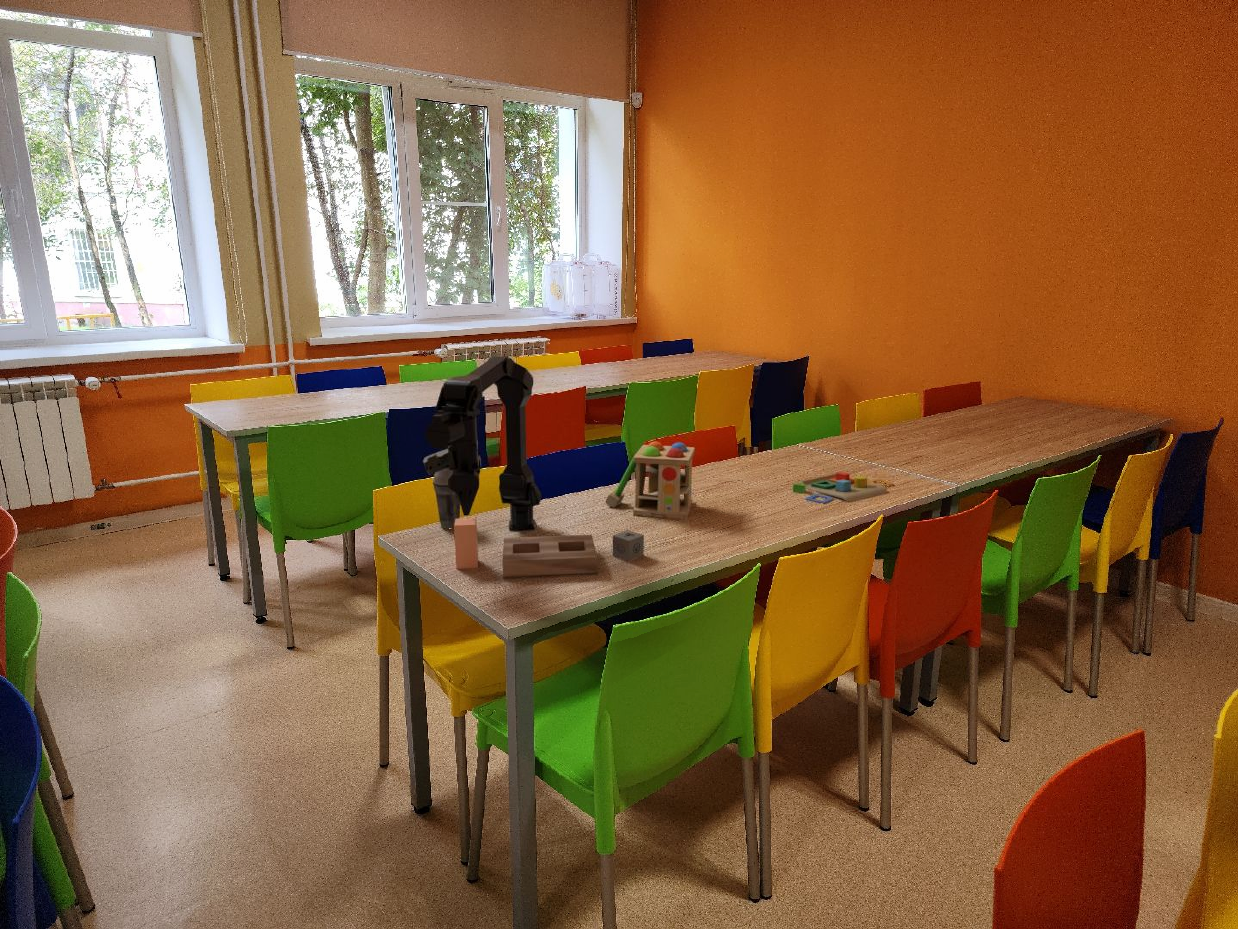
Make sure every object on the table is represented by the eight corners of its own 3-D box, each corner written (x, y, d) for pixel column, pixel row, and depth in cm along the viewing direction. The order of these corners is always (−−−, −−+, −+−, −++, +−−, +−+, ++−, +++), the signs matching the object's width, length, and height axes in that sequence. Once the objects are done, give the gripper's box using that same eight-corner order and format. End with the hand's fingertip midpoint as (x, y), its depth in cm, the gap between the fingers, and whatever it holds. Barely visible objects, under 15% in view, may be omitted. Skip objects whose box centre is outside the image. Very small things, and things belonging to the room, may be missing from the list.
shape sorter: (856, 475, 248) (857, 460, 247) (907, 489, 233) (908, 474, 232) (777, 492, 230) (778, 477, 229) (827, 509, 215) (828, 493, 214)
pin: (457, 561, 178) (455, 518, 175) (478, 560, 178) (476, 518, 175) (456, 568, 173) (453, 525, 171) (477, 568, 174) (475, 524, 171)
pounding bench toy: (600, 513, 210) (600, 447, 205) (611, 497, 223) (611, 435, 219) (687, 519, 206) (689, 452, 201) (693, 502, 219) (695, 439, 214)
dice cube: (643, 555, 181) (643, 535, 180) (629, 561, 177) (629, 540, 176) (627, 550, 184) (627, 530, 183) (612, 556, 181) (612, 535, 179)
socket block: (504, 554, 181) (503, 538, 180) (591, 550, 184) (591, 534, 183) (503, 578, 168) (502, 561, 167) (597, 574, 170) (597, 557, 169)
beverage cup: (466, 521, 204) (463, 445, 198) (462, 531, 197) (458, 452, 191) (438, 521, 203) (433, 445, 198) (432, 531, 196) (427, 452, 191)
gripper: (428, 430, 176) (432, 497, 180) (420, 450, 158) (425, 524, 162) (479, 428, 177) (482, 495, 181) (477, 448, 160) (480, 522, 164)
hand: (467, 508), depth 172 cm, fingers open, 9 cm apart
